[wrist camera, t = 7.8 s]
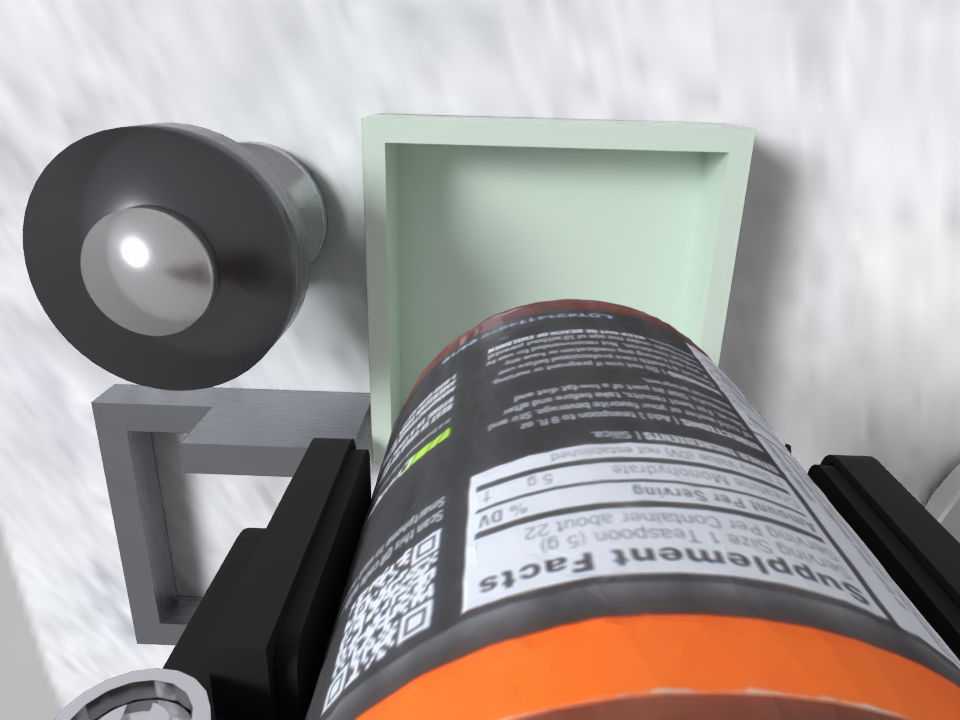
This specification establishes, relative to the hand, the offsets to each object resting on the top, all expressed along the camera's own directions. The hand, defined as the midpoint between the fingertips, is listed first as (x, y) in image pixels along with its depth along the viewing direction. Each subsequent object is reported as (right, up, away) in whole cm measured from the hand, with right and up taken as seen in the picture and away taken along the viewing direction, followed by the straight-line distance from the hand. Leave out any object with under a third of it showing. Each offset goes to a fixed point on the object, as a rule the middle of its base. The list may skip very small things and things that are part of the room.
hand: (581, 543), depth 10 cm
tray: (+1, +5, +13) cm, 14 cm away
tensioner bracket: (-10, -3, +16) cm, 19 cm away
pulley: (-8, +7, +12) cm, 17 cm away
